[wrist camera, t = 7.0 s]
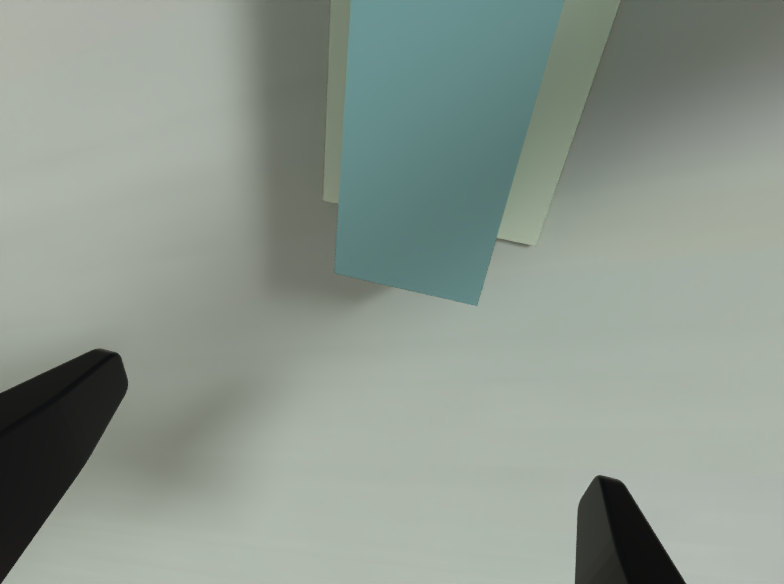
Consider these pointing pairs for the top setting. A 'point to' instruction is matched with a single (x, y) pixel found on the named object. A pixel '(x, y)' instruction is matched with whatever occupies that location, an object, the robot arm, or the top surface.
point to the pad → (548, 121)
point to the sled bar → (435, 136)
